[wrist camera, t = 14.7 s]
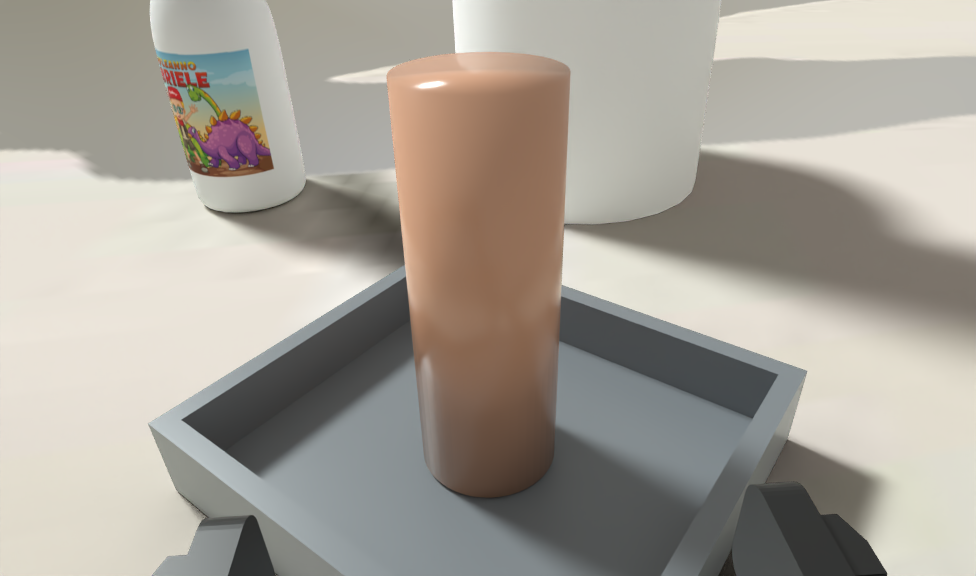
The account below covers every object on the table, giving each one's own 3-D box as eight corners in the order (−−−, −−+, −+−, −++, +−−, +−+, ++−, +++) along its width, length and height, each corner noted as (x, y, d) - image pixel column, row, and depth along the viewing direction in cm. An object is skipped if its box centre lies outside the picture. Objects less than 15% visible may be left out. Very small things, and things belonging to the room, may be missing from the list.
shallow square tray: (176, 490, 25) (148, 423, 24) (445, 299, 36) (440, 242, 34) (586, 834, 16) (594, 768, 14) (787, 438, 27) (807, 371, 25)
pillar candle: (396, 458, 25) (347, 79, 18) (476, 387, 28) (462, 45, 21) (505, 520, 22) (500, 106, 15) (578, 434, 26) (603, 63, 19)
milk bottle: (251, 166, 53) (181, -126, 43) (329, 180, 50) (274, -130, 40) (176, 205, 48) (72, -122, 37) (257, 223, 45) (171, -127, 34)
